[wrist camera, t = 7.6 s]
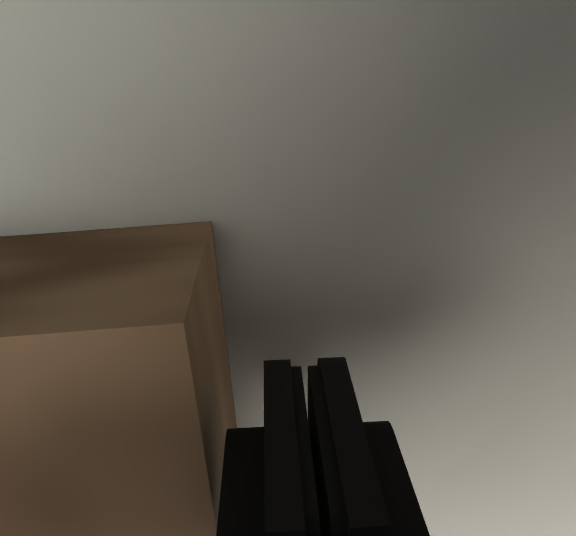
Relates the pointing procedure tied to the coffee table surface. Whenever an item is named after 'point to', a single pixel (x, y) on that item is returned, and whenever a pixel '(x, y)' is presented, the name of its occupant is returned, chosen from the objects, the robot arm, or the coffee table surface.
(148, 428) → the walnut block
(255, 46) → the coffee table surface
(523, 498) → the coffee table surface
